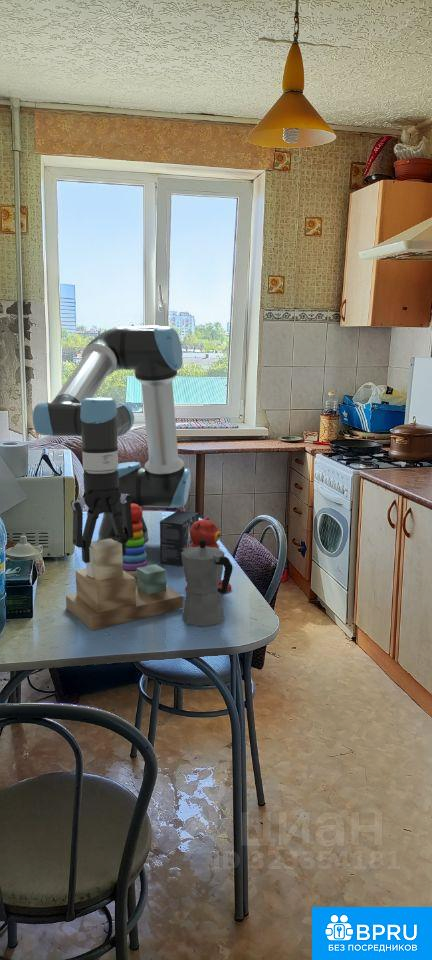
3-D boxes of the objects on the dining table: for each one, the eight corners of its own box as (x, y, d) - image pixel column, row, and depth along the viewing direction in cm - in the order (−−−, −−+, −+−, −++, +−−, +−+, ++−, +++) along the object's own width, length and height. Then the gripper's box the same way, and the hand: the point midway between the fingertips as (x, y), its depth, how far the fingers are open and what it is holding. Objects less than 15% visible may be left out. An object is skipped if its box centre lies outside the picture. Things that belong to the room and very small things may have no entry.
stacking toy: (143, 580, 176) (141, 508, 172) (113, 578, 178) (110, 507, 174) (152, 570, 184) (150, 501, 180) (123, 568, 185) (121, 500, 182)
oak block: (111, 568, 158) (110, 538, 156) (123, 575, 153) (122, 544, 151) (86, 572, 155) (85, 542, 153) (97, 580, 150) (96, 549, 148)
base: (152, 588, 170) (151, 553, 168) (183, 608, 158) (182, 570, 156) (66, 607, 158) (64, 570, 156) (92, 630, 146) (90, 589, 144)
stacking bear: (210, 602, 161) (210, 528, 158) (175, 594, 166) (173, 522, 163) (234, 588, 170) (234, 517, 167) (200, 581, 175) (199, 512, 172)
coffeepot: (167, 615, 154) (165, 537, 150) (199, 604, 160) (198, 529, 156) (215, 637, 142) (214, 552, 139) (247, 624, 149) (247, 543, 145)
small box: (182, 566, 187) (182, 523, 184) (159, 564, 189) (158, 521, 187) (199, 552, 199) (199, 511, 197) (177, 550, 201) (176, 510, 199)
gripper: (65, 477, 141) (70, 586, 146) (148, 468, 151) (150, 569, 156) (52, 472, 147) (57, 576, 152) (133, 463, 157) (135, 561, 162)
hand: (104, 572), depth 154 cm, fingers closed on oak block, 6 cm apart
